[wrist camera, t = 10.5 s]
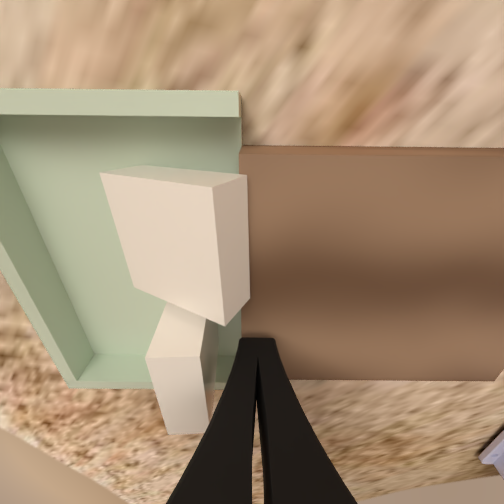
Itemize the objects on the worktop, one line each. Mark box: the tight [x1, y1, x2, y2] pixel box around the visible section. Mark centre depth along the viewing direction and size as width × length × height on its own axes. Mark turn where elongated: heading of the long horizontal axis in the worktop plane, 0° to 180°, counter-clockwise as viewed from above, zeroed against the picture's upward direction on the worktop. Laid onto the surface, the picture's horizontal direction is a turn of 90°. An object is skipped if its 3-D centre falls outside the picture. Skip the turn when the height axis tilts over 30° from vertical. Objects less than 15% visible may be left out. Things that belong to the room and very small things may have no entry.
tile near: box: [99, 165, 250, 326], centre depth 8 cm, size 4×4×2 cm
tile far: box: [145, 302, 219, 435], centre depth 10 cm, size 4×4×2 cm
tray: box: [0, 88, 242, 390], centre depth 10 cm, size 13×9×2 cm
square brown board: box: [239, 145, 504, 381], centre depth 10 cm, size 10×12×2 cm
